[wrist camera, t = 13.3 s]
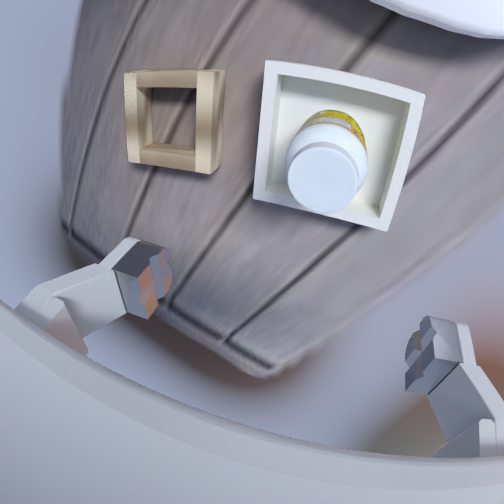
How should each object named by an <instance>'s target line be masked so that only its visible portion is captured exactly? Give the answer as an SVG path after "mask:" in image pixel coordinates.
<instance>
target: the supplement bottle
mask: <svg viewBox="0 0 504 504" xmlns="http://www.w3.org/2000/svg"><path fill="white" fill-rule="evenodd" d="M286 170H287V173H288V175H287V180H288V186H289V189H290V191H291V193H292V195H293V197H294V198H295V199H296V200H297V201H298V202H299V203H300V204H301V205H302V206H304V207H305V208H307V209H309V210H311V211H314V212H319V213H332V212H336V211H339V210H341V209H343V208H345V207H346V206H347V205H348V204H350V202H351V201H352V200H353V198H354V197H355V195H356V193H357V192H358V191H359V190H360V189H361V187H362V186H363V184H364V182H365V180H366V177H367V173H368V157H367V150H366V144H365V138H364V134H363V131H362V129H361V128H360V126H359V124H358V123H357V122H356V120H355V119H354V118H353V117H352V116H350V115H349V114H347V113H345V112H342V111H339V110H332V109H329V110H322V111H319V112H317V113H315V114H313V115H312V116H311V117H310V118H309V119H308V120H307V121H306V122H305V123H304V124H303V126H302V127H301V129H300V130H299V131H298V132H297V134H296V135H295V136H294V138H293V139H292V141H291V143H290V144H289V147H288V149H287V153H286Z"/></svg>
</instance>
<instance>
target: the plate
mask: <svg viewBox="0 0 504 504" xmlns="http://www.w3.org/2000/svg"><path fill="white" fill-rule="evenodd" d="M369 1H371V2H373V3H376V4H378V5H381V6H383V7H385V8H388V9H390V10H392V11H394V12H397V13H399V14H401V15H403V16H406V17H410V18H413V19H416V20H419V21H422V22H425V23H428V24H431V25H434V26H437V27H440V28H442V29H445V30H448V31H450V32H455V33H460V34H465V35H469V36H473V37H477V38H492V39H504V0H369Z"/></svg>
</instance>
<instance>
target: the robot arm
mask: <svg viewBox="0 0 504 504" xmlns="http://www.w3.org/2000/svg"><path fill="white" fill-rule="evenodd" d="M170 259H171V257H170V251H169V250H168V249H167V248H165V247H161V246H158V245H155V244H152V243H149V242H145V241H142V240H138V239H135V238H132V237H128V238H125V239H124V240H123V241H122V242H121V243H120V244H119V245H118V246H117V247H116V248H115V249H114V250H113V251H112V252H111V253H109V254H108V255H107V256H106V257H105V258H104V259H103V260H102V261H101V262H100V263H99V264H92V265H89V266H87V267H84V268H81V269H79V270H76V271H73V272H71V273H68V274H65V275H63V276H60V277H58V278H55V279H52V280H50V281H47V282H45V283H42V284H40V285H37V286H36V287H35V288H34V289H33V290H32V291H31V292H30V293H29V294H28V295H27V296H26V298H25V299H24V300H23V301H22V302H21V303H20V304H19V305H18V306H17V307H16V308H15V310H13V309H12V308H11V307H10V306H8V305H7V304H6V303H4V302H3V301H2V300H0V504H504V402H503V400H502V399H501V397H500V395H499V394H498V392H497V391H496V389H495V388H494V386H493V385H492V384H491V382H490V380H489V379H488V378H487V376H486V375H485V373H484V372H483V370H482V369H481V367H480V366H476V361H475V356H474V350H473V345H472V340H471V336H470V332H469V327H468V326H467V324H464V323H460V322H455V321H449V320H445V319H440V318H435V317H431V316H426V317H424V318H423V320H422V321H421V322H420V330H418V331H416V332H414V333H413V334H412V337H411V338H410V339H409V342H408V344H407V347H406V353H405V362H406V363H407V365H408V366H409V369H408V371H407V372H406V373H405V391H408V392H413V393H419V394H424V395H428V396H427V397H428V399H429V402H430V404H431V406H432V408H433V410H434V412H435V415H436V417H437V419H438V422H439V424H440V426H441V429H442V431H443V434H444V436H445V438H446V441H447V443H446V444H444V445H443V446H441V447H439V448H438V449H437V450H435V451H434V452H433V458H430V457H411V456H399V455H388V454H379V453H371V452H364V451H357V450H350V449H344V448H338V447H333V446H327V445H322V444H317V443H313V442H308V441H303V440H299V439H295V438H291V437H286V436H283V435H278V434H275V433H271V432H267V431H264V430H261V429H257V428H254V427H250V426H247V425H244V424H241V423H237V422H234V421H231V420H228V419H225V418H222V417H219V416H216V415H214V414H211V413H208V412H205V411H203V410H200V409H197V408H195V407H192V406H189V405H187V404H184V403H182V402H179V401H177V400H174V399H172V398H169V397H167V396H165V395H163V394H160V393H158V392H156V391H153V390H151V389H149V388H147V387H145V386H142V385H140V384H138V383H136V382H134V381H132V380H130V379H128V378H125V377H124V376H122V375H120V374H118V373H116V372H114V371H112V370H110V369H108V368H106V367H104V366H102V365H101V364H99V363H97V362H95V361H93V360H91V359H90V358H88V357H86V355H87V353H88V348H87V346H86V344H85V343H84V341H83V339H82V338H83V337H85V336H87V335H89V334H90V333H92V332H94V331H96V330H97V329H99V328H101V327H103V326H104V325H106V324H108V323H109V322H111V321H113V320H115V319H117V318H118V317H120V316H122V315H124V314H126V312H129V313H131V314H134V315H137V316H139V317H142V318H145V319H149V317H150V316H151V315H152V313H153V312H154V310H155V309H156V308H157V306H158V302H157V299H159V298H162V297H164V296H165V295H166V294H167V292H168V291H169V288H170V286H171V283H172V276H173V274H172V269H171V267H170V266H169V265H168V261H169V260H170Z"/></svg>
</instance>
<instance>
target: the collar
mask: <svg viewBox="0 0 504 504" xmlns="http://www.w3.org/2000/svg"><path fill="white" fill-rule="evenodd" d="M225 76H226V70H201V69H166V70H142V71H135V72H129V73H124V91H125V118H126V135H127V148H128V160H129V162H133V163H141V164H148V165H155V166H161V167H168V168H174V169H181V170H187V171H193V172H199V173H205V174H211V173H213V172H214V171H215V170H216V169H217V168H218V167H220V166H221V150H222V128H223V109H224V92H225ZM152 87H181V88H197V100H196V147H189V146H181V145H173V144H164V143H155V142H153V135H152Z"/></svg>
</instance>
